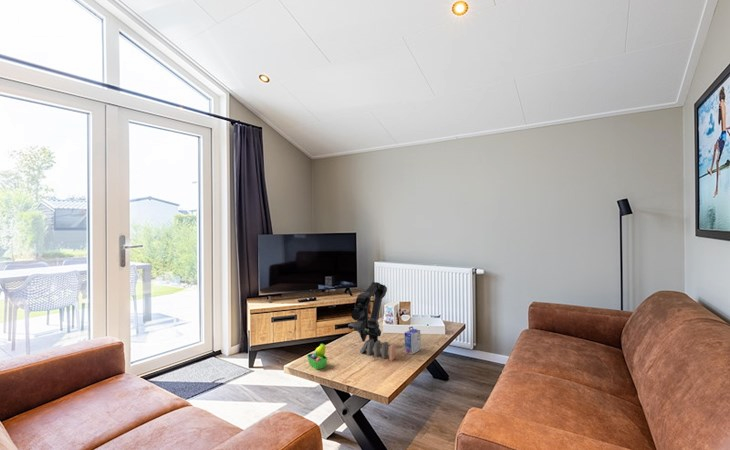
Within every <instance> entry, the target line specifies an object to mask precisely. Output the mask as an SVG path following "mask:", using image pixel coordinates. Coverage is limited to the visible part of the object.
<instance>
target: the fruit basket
mask: <svg viewBox="0 0 730 450" xmlns="http://www.w3.org/2000/svg"><path fill="white" fill-rule="evenodd" d="M314 351H315V352H312V353H308V354H307V355H306V357H307V360H308V363H309V365H310V366H312V367H313V368H314V369H315V370H316V371H317V370H320V369H323V368H326V365H327V361H328V357H327V356H325V355H326V344H324V343H320V344H319V346H318V347H316V348H315V350H314Z"/></svg>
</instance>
